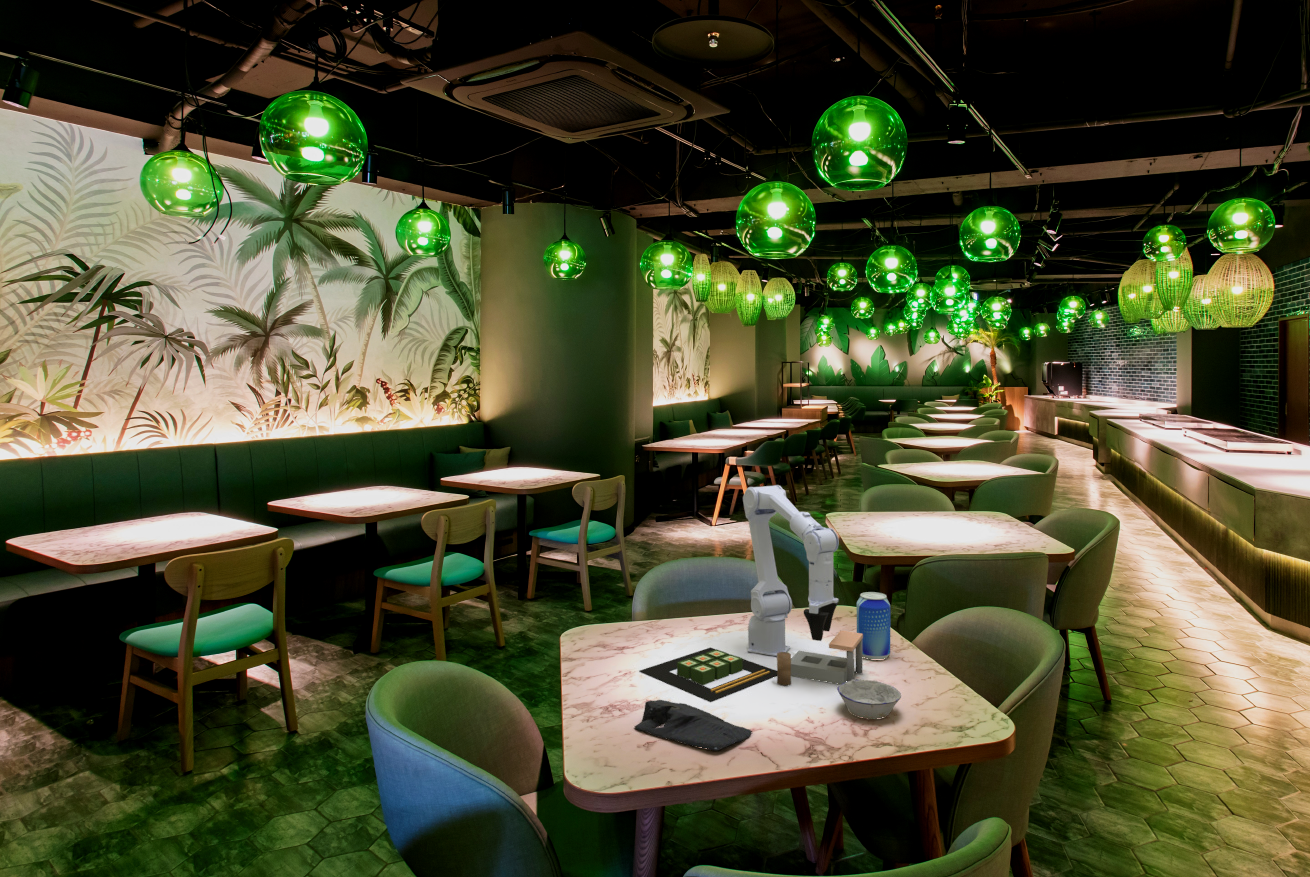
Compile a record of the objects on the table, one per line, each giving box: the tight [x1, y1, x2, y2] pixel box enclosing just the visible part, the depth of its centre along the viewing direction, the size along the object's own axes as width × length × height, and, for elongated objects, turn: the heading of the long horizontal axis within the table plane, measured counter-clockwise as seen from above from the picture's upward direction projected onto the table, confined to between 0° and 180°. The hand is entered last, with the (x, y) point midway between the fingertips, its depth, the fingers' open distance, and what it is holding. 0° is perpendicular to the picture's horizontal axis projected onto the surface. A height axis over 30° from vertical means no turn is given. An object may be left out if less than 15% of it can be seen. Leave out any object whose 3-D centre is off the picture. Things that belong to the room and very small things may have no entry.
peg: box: [776, 651, 792, 687], centre depth 172 cm, size 3×3×7 cm
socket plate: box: [791, 650, 847, 685], centre depth 178 cm, size 14×10×3 cm
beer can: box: [856, 591, 891, 660], centre depth 189 cm, size 8×8×16 cm
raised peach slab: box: [828, 630, 863, 681], centre depth 175 cm, size 6×11×10 cm, turn 152°
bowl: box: [836, 678, 902, 720], centre depth 156 cm, size 13×13×5 cm
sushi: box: [638, 647, 777, 703], centre depth 179 cm, size 25×25×4 cm
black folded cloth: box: [634, 699, 753, 751], centre depth 148 cm, size 15×22×5 cm
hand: (821, 635), depth 175 cm, fingers open, 7 cm apart
